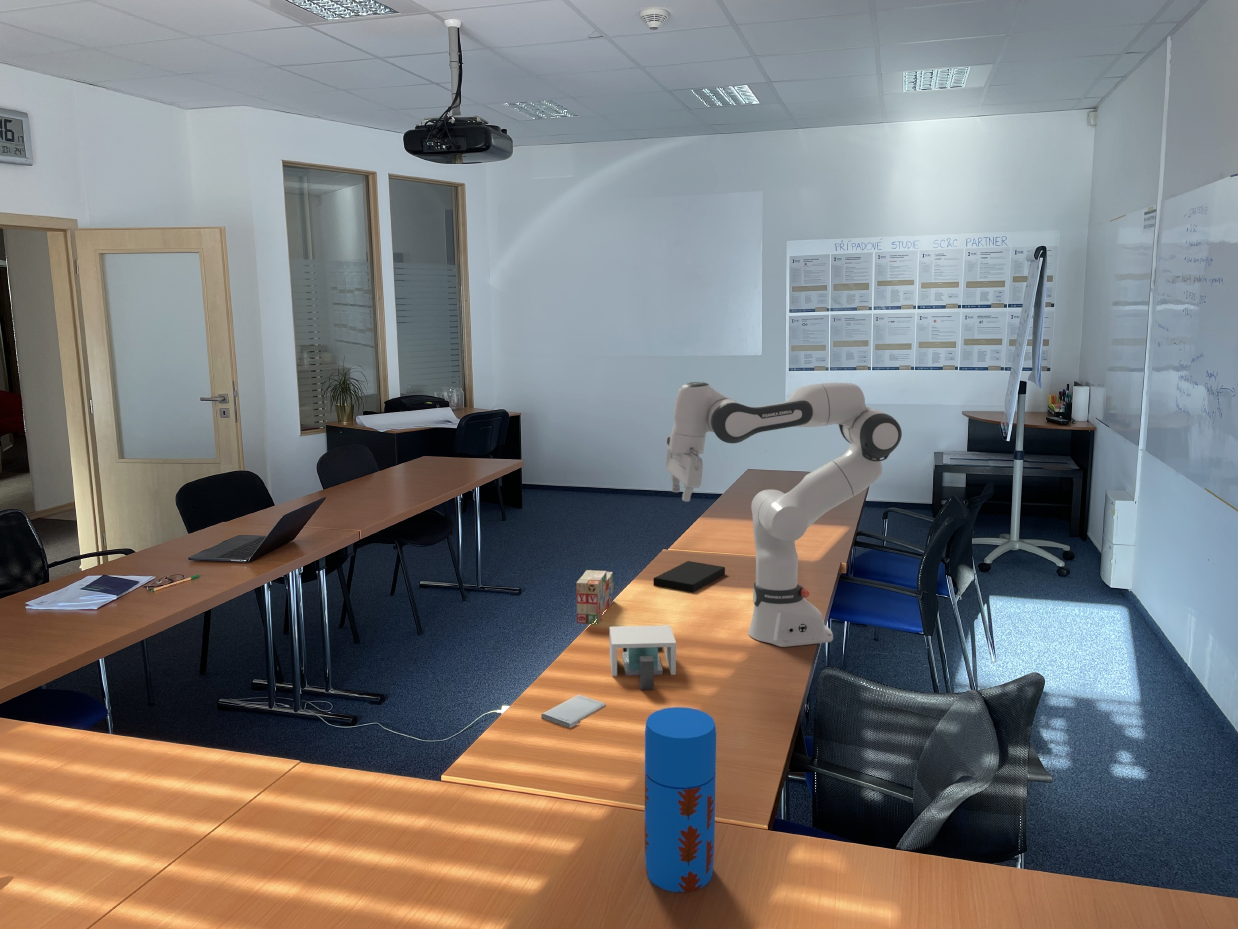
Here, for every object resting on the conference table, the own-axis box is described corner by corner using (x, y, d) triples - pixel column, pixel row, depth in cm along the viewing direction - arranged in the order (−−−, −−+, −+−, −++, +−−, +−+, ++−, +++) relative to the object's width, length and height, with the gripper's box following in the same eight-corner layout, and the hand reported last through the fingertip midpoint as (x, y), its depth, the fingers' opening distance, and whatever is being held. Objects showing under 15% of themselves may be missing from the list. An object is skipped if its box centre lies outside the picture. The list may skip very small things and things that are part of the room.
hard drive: (570, 723, 186) (606, 702, 196) (541, 713, 191) (577, 693, 201) (570, 731, 187) (606, 709, 196) (541, 720, 191) (577, 700, 201)
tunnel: (670, 657, 225) (670, 625, 223) (675, 676, 213) (676, 642, 212) (609, 658, 224) (609, 626, 222) (612, 678, 212) (611, 644, 211)
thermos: (641, 852, 144) (641, 707, 139) (706, 848, 144) (708, 705, 140) (649, 895, 133) (649, 740, 129) (719, 891, 134) (722, 737, 130)
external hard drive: (653, 586, 284) (653, 577, 284) (687, 569, 303) (687, 560, 303) (692, 594, 277) (692, 584, 276) (724, 575, 296) (725, 567, 295)
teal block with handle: (657, 655, 224) (657, 629, 223) (666, 689, 204) (666, 660, 203) (622, 656, 224) (622, 630, 223) (627, 690, 204) (627, 661, 203)
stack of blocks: (593, 600, 270) (593, 561, 268) (613, 601, 269) (613, 562, 267) (576, 623, 250) (575, 581, 248) (598, 625, 248) (597, 583, 246)
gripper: (711, 453, 219) (704, 507, 221) (687, 438, 238) (680, 487, 241) (687, 451, 217) (680, 506, 220) (665, 436, 237) (658, 486, 239)
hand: (680, 496), depth 230 cm, fingers open, 8 cm apart
